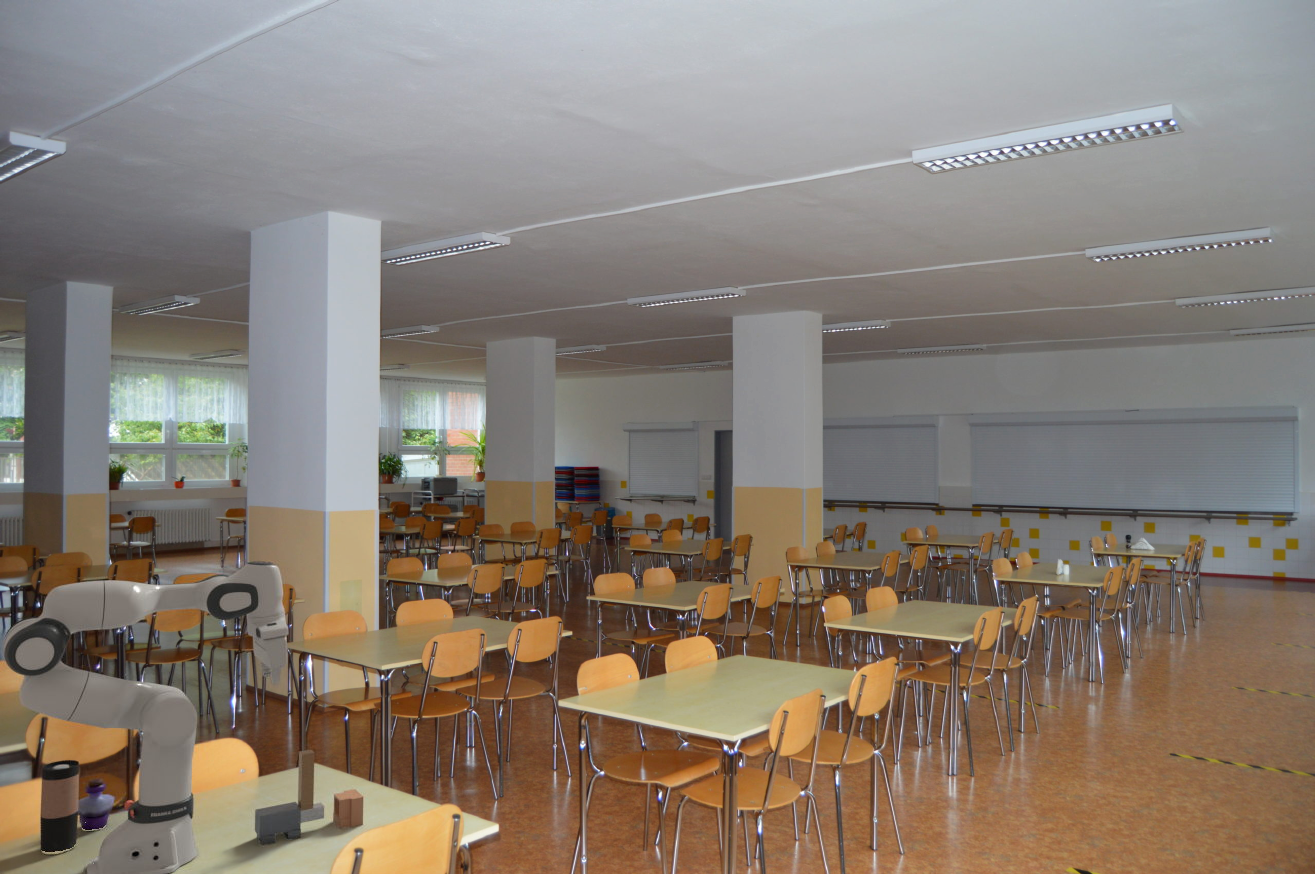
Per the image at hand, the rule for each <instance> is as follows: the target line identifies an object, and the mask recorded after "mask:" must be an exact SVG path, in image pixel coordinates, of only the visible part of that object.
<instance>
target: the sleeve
mask: <svg viewBox="0 0 1315 874" xmlns="http://www.w3.org/2000/svg"><path fill="white" fill-rule="evenodd" d="M254 810H255V811H254V832H255V833H256V838H257V840H258V842H259V841H260V842H259V843H260V845H261V846H262V847H263V846H268V845H272V844H276V835H279V834H283V835H284V836H285V838H286V839H287V841H291V840H294V839H299V838H301V837H302V835H301V834H302V829H301V824H302V823H301V808H300V806H299V805H298V802H296V801H293V802H292V801H291V802H287V803H282V804H276V805H272V806H267V807H262V808H257V809H254Z"/></svg>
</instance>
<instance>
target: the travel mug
mask: <svg viewBox="0 0 1315 874" xmlns="http://www.w3.org/2000/svg"><path fill="white" fill-rule="evenodd" d="M41 768H42V769H41V771H42V772H41V791H40V792H41V795H40V817H39V818H40V820H39V821H40V822H39V823H40V851H41V850H42V851H45V852H55V851H63V850H66V849H70V848H72V847H74V845H75V844H76V845H77V837H78V821H79V815H78V801H79V800H80V799H79V797H80V796H79V792H80V791H79V789H80V788H79V787H80V784H79V783H80V782H79V781H80V762H79V761H78V760H75V759H65V760H57V761H53V762H50V763H47V764H45V765H43V766H42V767H41Z"/></svg>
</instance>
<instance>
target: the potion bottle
mask: <svg viewBox="0 0 1315 874" xmlns="http://www.w3.org/2000/svg"><path fill="white" fill-rule="evenodd" d="M87 783H88V784H87V785H86V786H85V789H84V790H85V791H84V792H85V793H86V794H88V796H87V797H84V798H83V797H82V798H80V799H78V819H79V822H80V825H81V829H82V828H83V829H85V830H92V829H99V828H103V827H104V826H105V825H107V826H108V820H109V817H110V814H111V811H112V809H113V806H114V803H115V799H116V798H115V796H113V795H111V794H103V792H104V791H105V790H106V789H107V788H106V785H107V784H106V783H105V782H104V779H103V778H93V779H90V780H88V781H87ZM85 822H86V823H85Z"/></svg>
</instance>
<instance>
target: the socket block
mask: <svg viewBox="0 0 1315 874" xmlns="http://www.w3.org/2000/svg"><path fill="white" fill-rule="evenodd" d="M332 815H333V816H332V817H333V818H332V821H333V823H334V824H335V825H336V826H337V828H339V829H340V830H341V829H346V828H354V827H358V826H362V825H363V826H364V796H363V795H362V794H361V793H360V792H359V791H358V790H357V789H356V788H353V789H349V790H348V789H347V790H344V791H343V792H339V793H334V794H333V813H332Z"/></svg>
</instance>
